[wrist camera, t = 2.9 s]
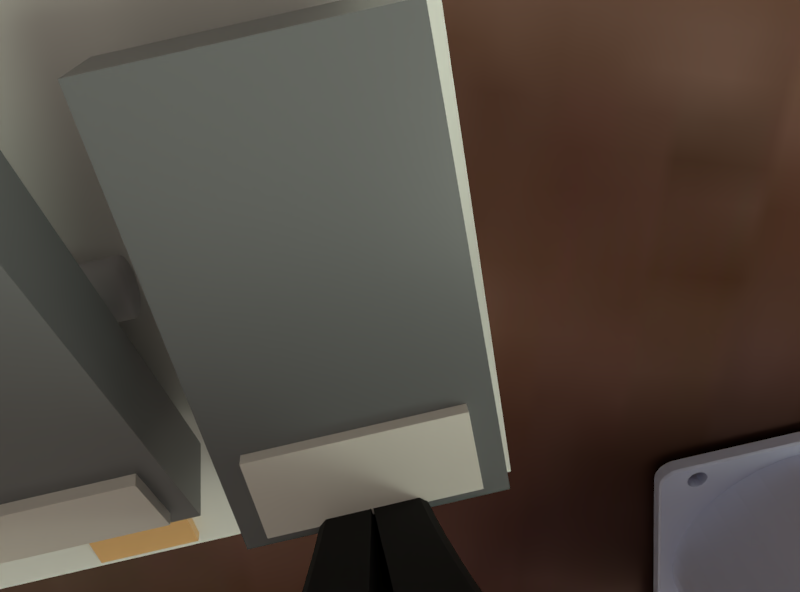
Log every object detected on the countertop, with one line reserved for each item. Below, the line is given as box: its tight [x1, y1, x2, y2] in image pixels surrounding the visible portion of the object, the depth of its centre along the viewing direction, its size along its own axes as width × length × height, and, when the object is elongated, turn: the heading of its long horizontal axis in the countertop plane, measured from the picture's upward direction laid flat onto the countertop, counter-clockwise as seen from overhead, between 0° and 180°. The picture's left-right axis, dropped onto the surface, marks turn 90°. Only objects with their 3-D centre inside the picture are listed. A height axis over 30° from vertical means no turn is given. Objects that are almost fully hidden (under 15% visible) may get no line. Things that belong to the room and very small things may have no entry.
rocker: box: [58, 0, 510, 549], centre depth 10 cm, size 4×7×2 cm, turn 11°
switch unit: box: [0, 0, 511, 589], centre depth 13 cm, size 15×13×4 cm
